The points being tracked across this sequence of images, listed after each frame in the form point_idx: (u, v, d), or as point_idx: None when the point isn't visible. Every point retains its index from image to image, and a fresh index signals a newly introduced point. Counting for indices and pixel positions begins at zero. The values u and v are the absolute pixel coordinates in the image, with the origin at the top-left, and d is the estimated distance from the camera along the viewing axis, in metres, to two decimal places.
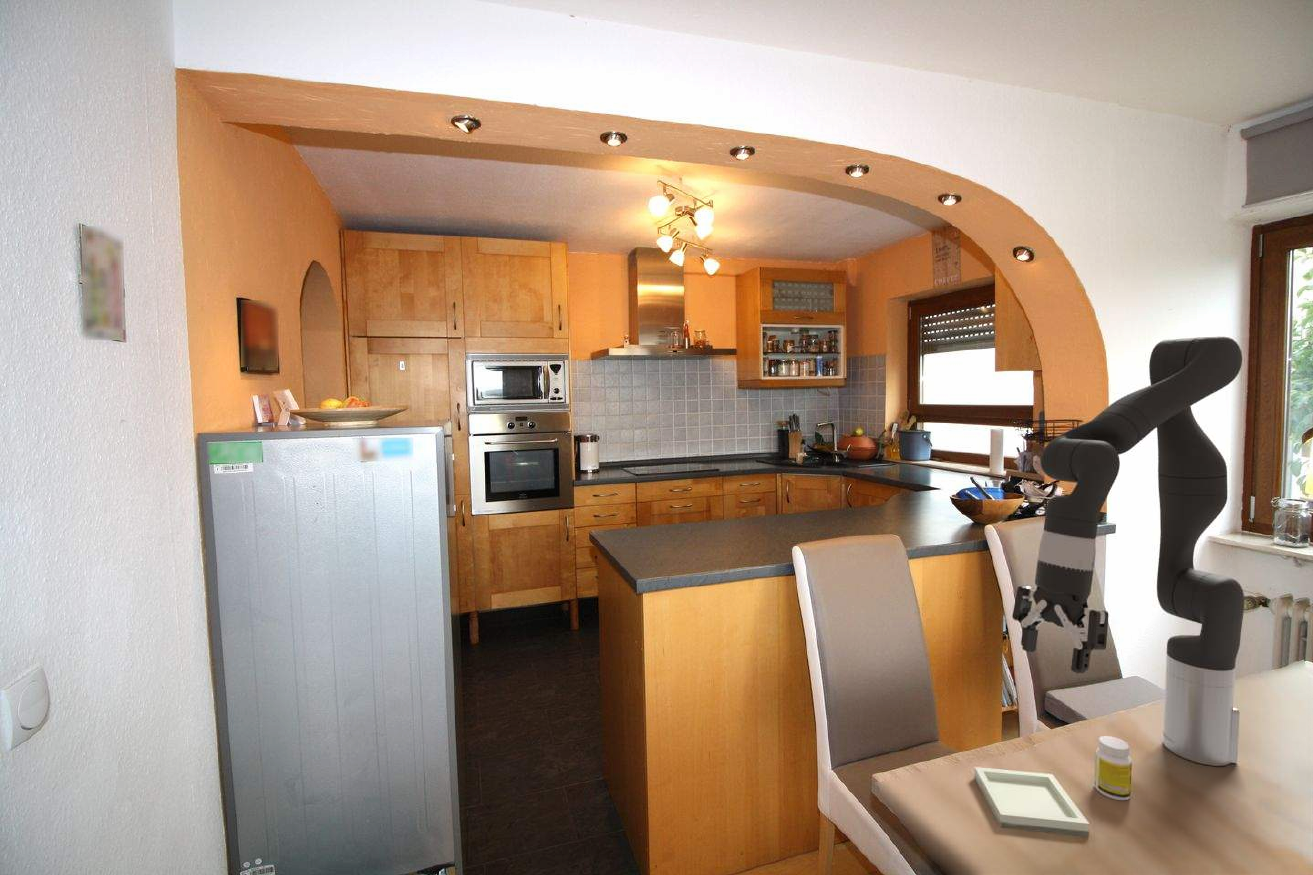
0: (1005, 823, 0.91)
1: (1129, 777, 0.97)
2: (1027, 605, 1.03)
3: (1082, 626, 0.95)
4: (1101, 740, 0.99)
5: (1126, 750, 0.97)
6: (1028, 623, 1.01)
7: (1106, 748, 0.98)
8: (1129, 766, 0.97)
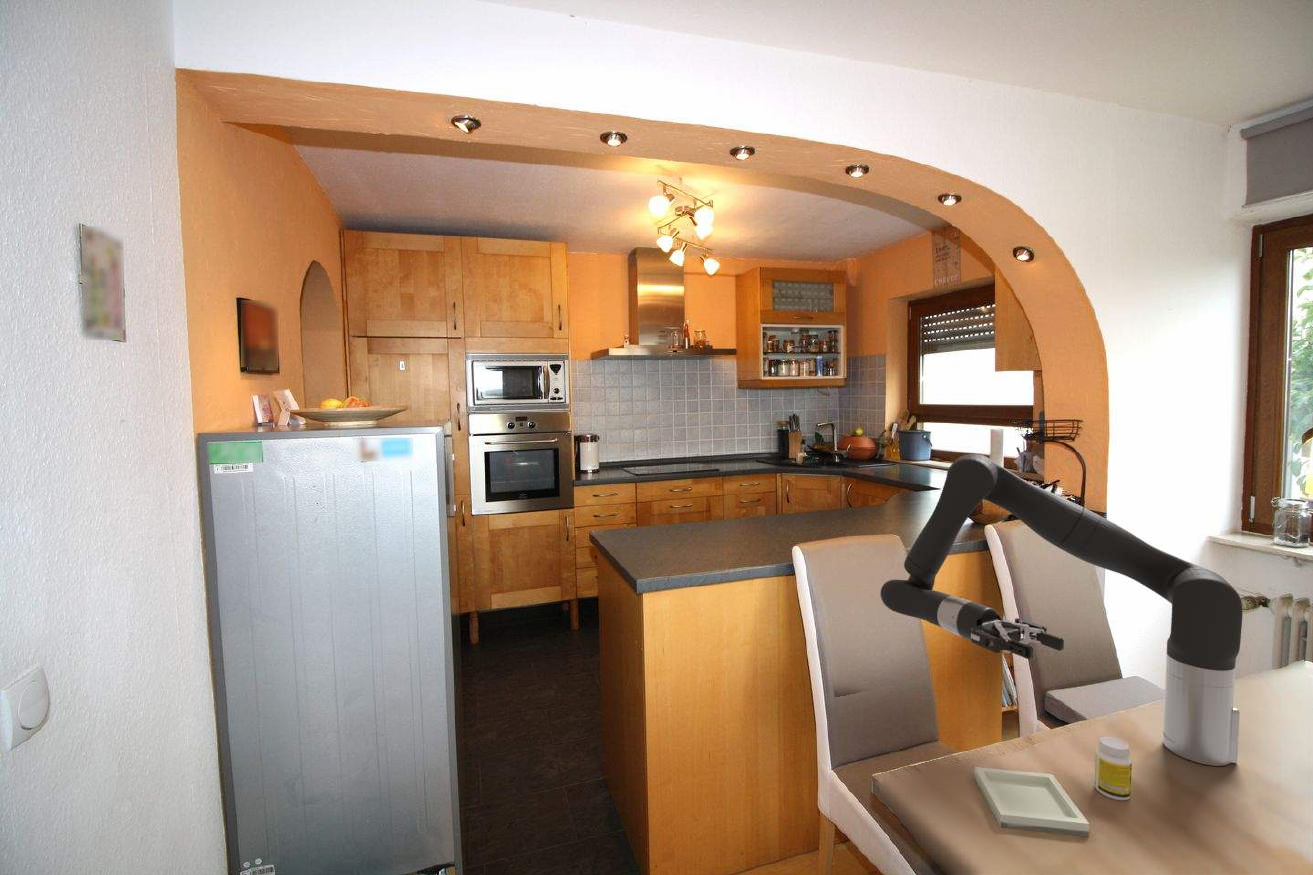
0: (1005, 823, 0.91)
1: (1129, 777, 0.97)
2: None
3: None
4: (1101, 740, 0.99)
5: (1126, 750, 0.97)
6: (1035, 642, 1.14)
7: (1106, 748, 0.98)
8: (1129, 766, 0.97)
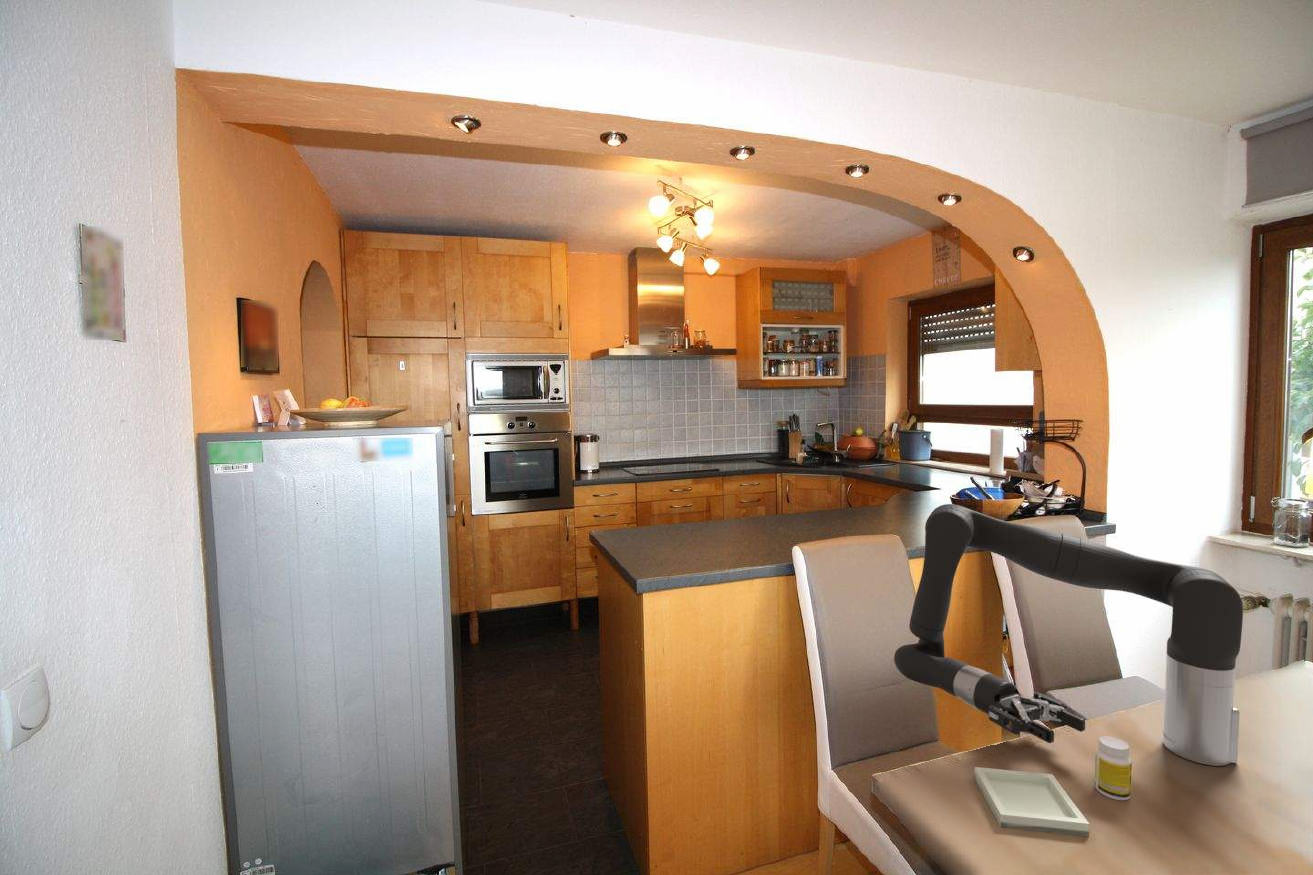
0: (1005, 823, 0.91)
1: (1129, 777, 0.97)
2: (1048, 704, 1.14)
3: None
4: (1101, 740, 0.99)
5: (1126, 750, 0.97)
6: (1055, 720, 1.11)
7: (1106, 748, 0.98)
8: (1129, 766, 0.97)
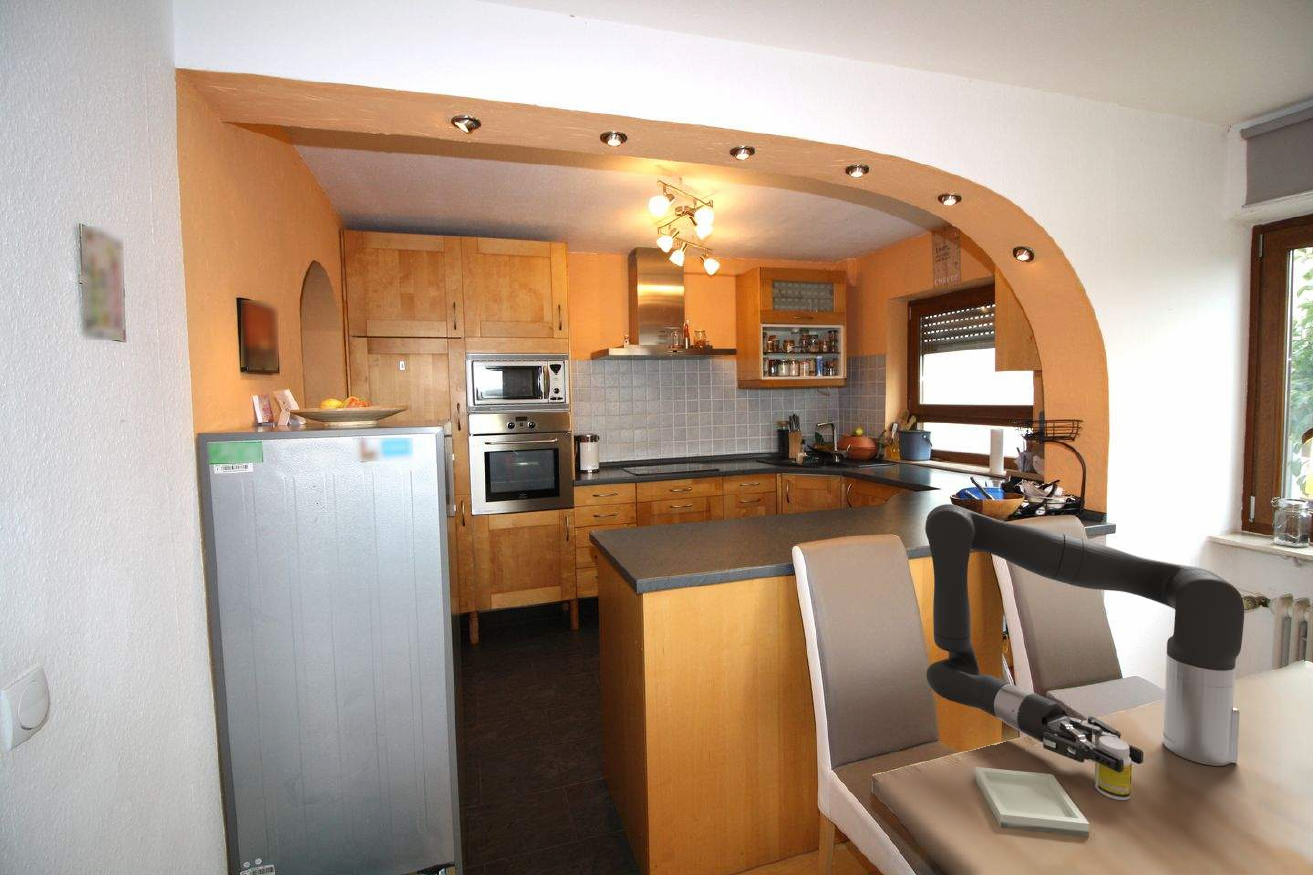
0: (1005, 823, 0.91)
1: (1129, 777, 0.97)
2: None
3: (1076, 736, 1.02)
4: (1101, 740, 0.99)
5: (1126, 750, 0.97)
6: None
7: (1106, 748, 0.98)
8: (1129, 766, 0.97)
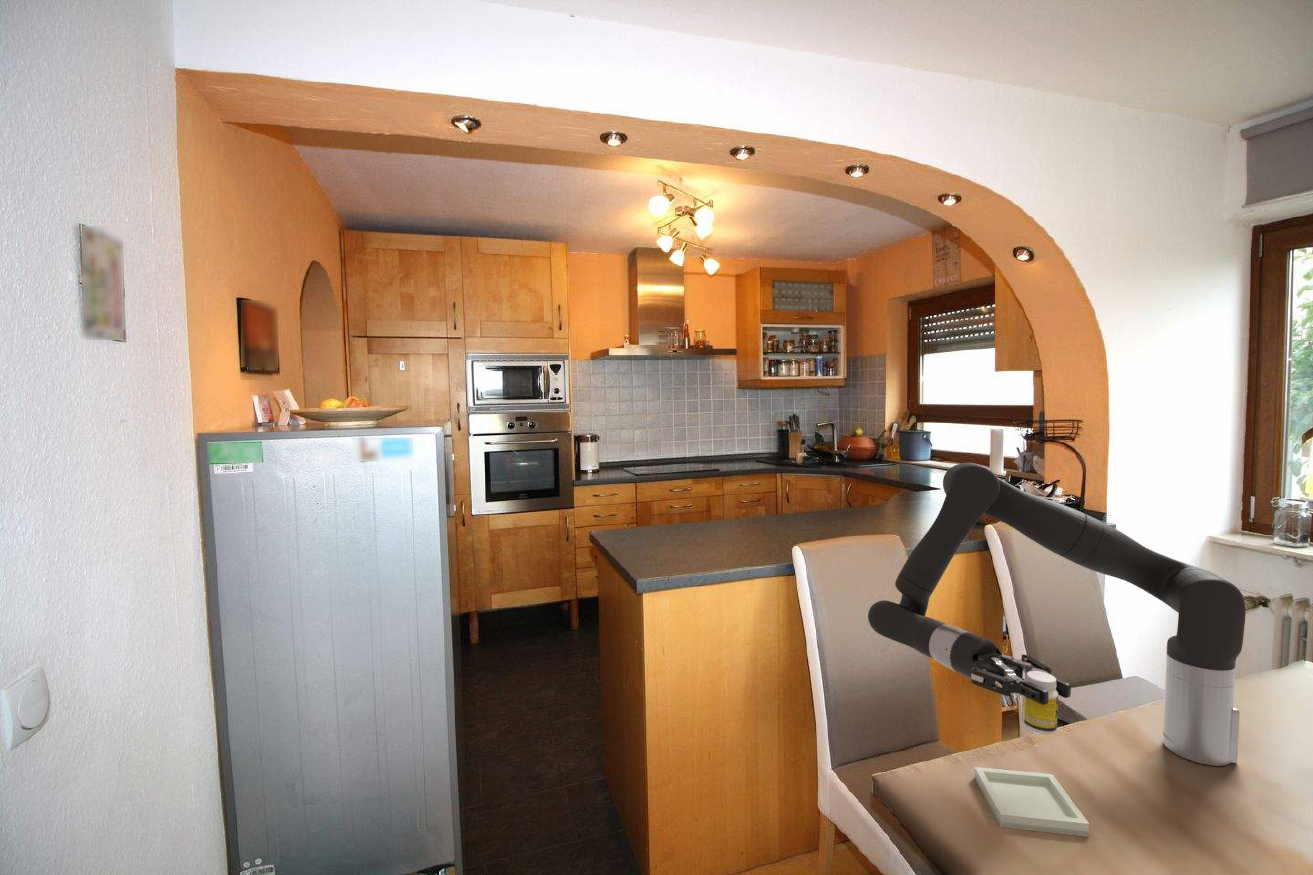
0: (1005, 823, 0.91)
1: (1055, 711, 0.94)
2: None
3: None
4: (1029, 674, 0.96)
5: (1052, 683, 0.94)
6: None
7: (1032, 682, 0.95)
8: (1055, 699, 0.94)
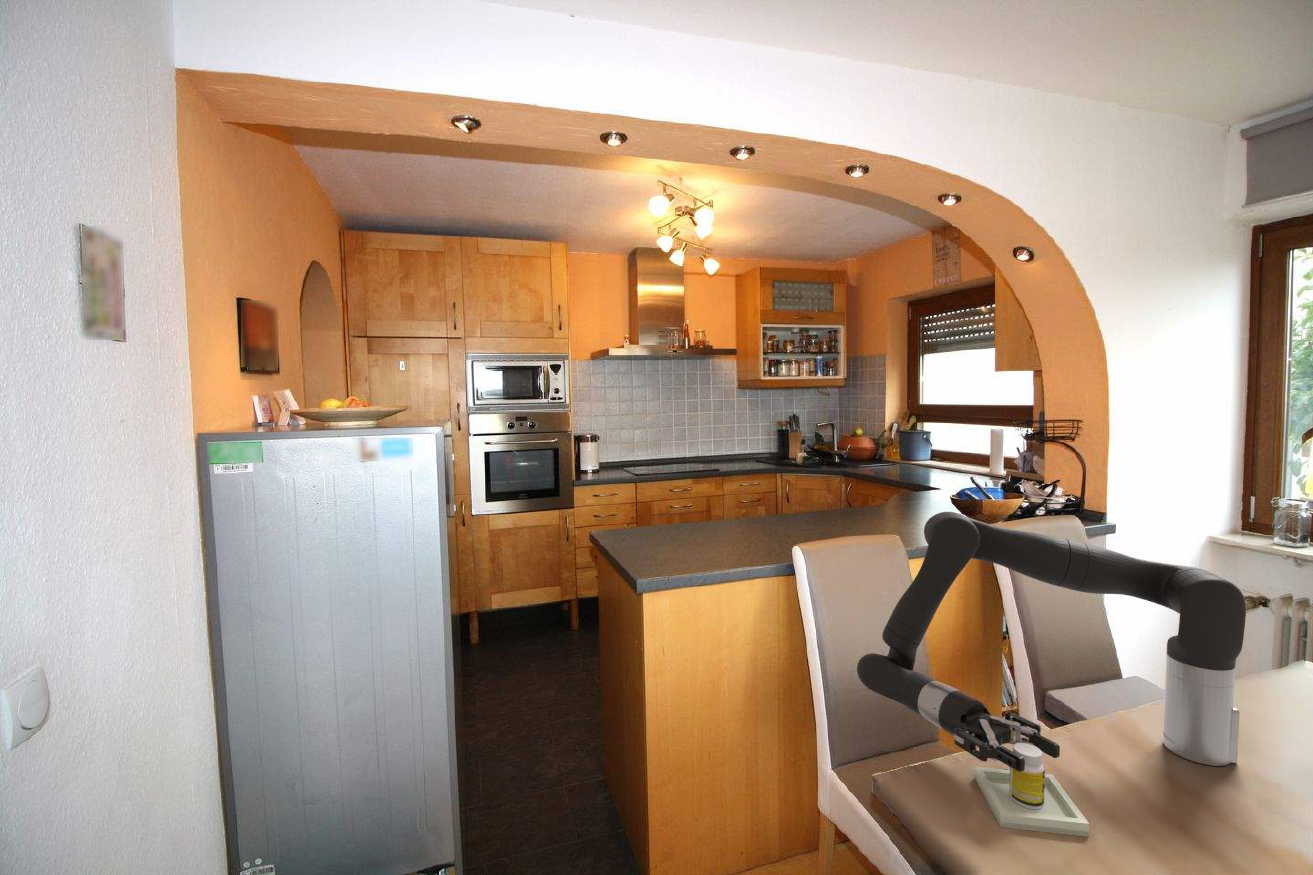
0: (1005, 823, 0.91)
1: (1042, 785, 0.94)
2: (1020, 725, 1.03)
3: None
4: (1015, 747, 0.96)
5: (1038, 757, 0.94)
6: None
7: None
8: (1041, 774, 0.94)
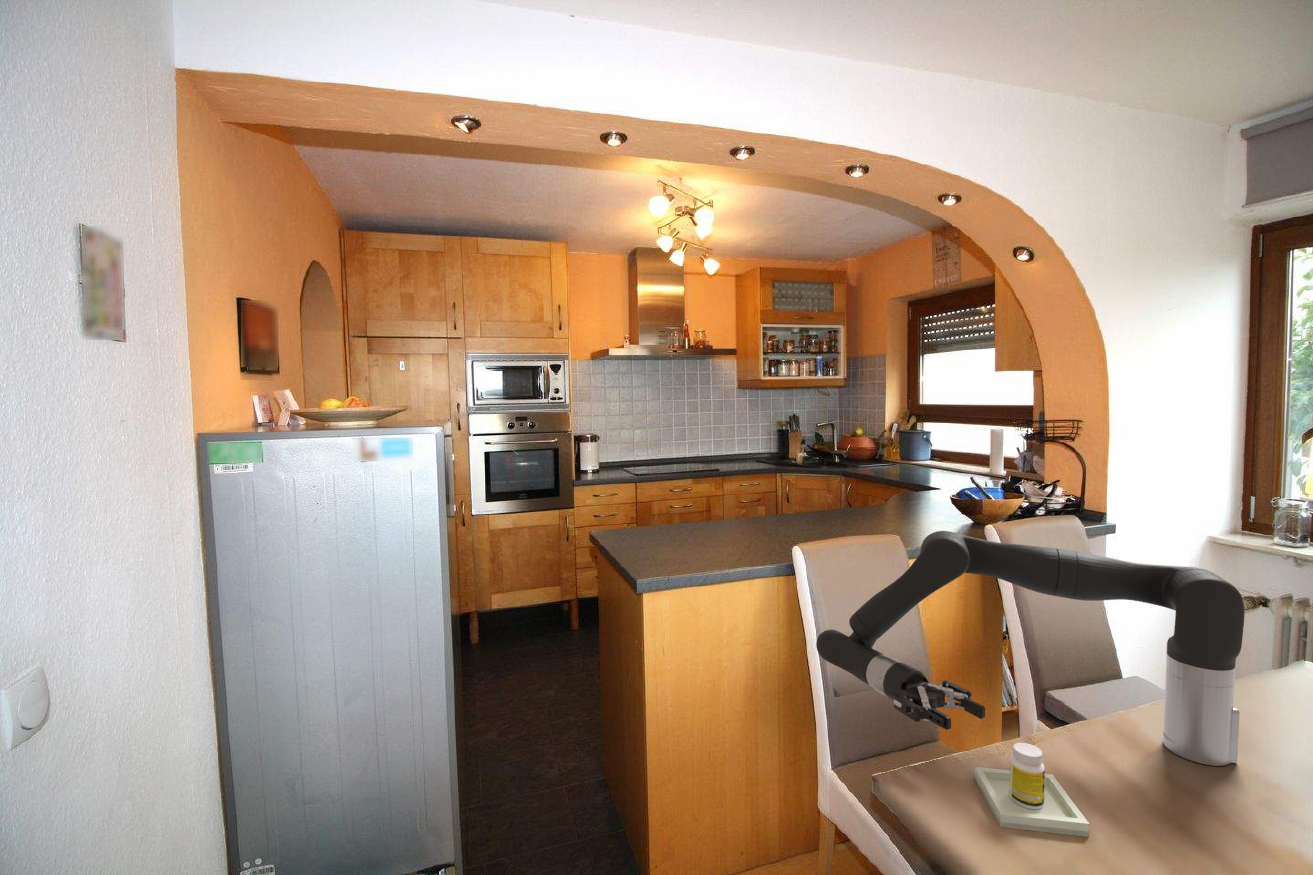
0: (1005, 823, 0.91)
1: (1042, 785, 0.94)
2: (955, 692, 1.14)
3: None
4: (1015, 747, 0.96)
5: (1038, 757, 0.94)
6: (959, 707, 1.12)
7: (1019, 756, 0.95)
8: (1041, 774, 0.94)
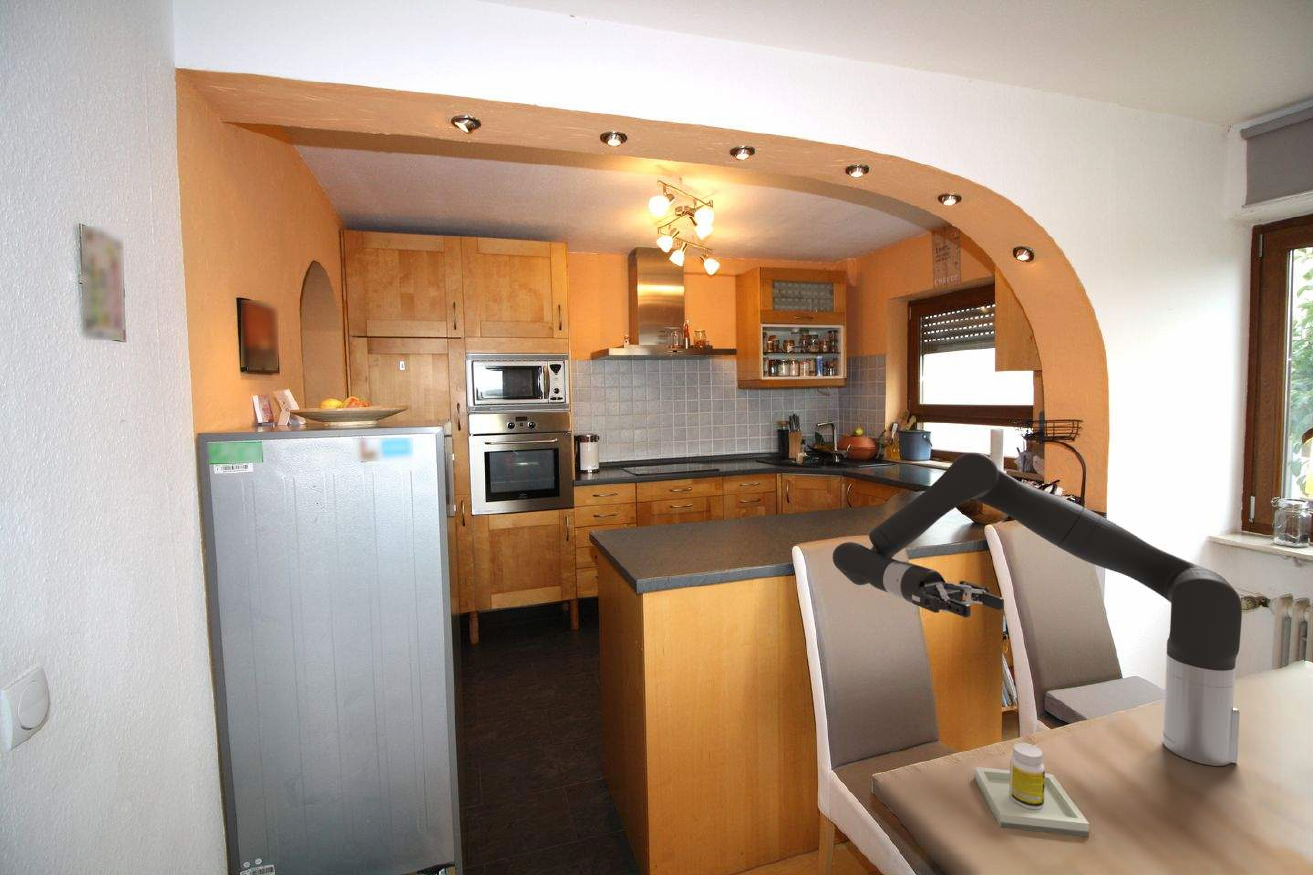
0: (1005, 823, 0.91)
1: (1042, 785, 0.94)
2: None
3: None
4: (1015, 747, 0.96)
5: (1038, 757, 0.94)
6: None
7: (1019, 756, 0.95)
8: (1041, 774, 0.94)
